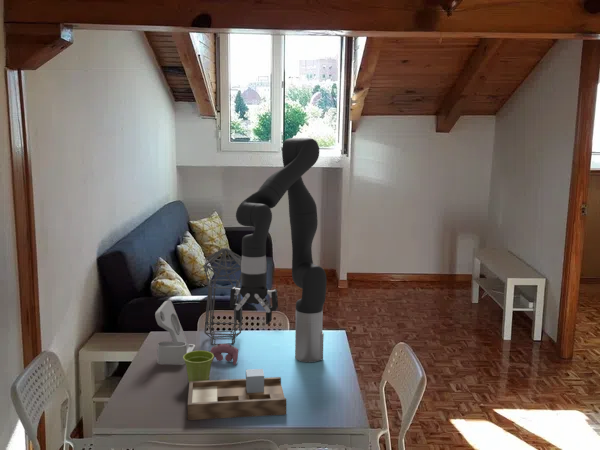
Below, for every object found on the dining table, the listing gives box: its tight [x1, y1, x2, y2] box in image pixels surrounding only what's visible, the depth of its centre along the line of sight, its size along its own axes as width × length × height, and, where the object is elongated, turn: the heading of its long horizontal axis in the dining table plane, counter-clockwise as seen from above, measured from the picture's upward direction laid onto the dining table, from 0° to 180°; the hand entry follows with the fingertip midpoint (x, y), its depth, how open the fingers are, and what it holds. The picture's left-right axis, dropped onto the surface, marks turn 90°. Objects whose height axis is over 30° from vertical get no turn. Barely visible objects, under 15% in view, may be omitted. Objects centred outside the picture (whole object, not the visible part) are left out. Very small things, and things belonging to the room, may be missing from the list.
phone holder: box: [154, 299, 196, 366], centre depth 210 cm, size 17×10×18 cm, turn 178°
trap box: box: [187, 376, 287, 421], centre depth 175 cm, size 27×15×4 cm, turn 98°
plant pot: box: [183, 350, 215, 383], centre depth 189 cm, size 9×9×9 cm
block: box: [245, 368, 265, 393], centre depth 178 cm, size 5×5×5 cm
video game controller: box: [209, 343, 239, 366], centre depth 206 cm, size 10×5×7 cm, turn 84°
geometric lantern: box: [202, 247, 243, 346], centre depth 223 cm, size 16×16×35 cm
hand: (253, 322), depth 183 cm, fingers open, 8 cm apart
